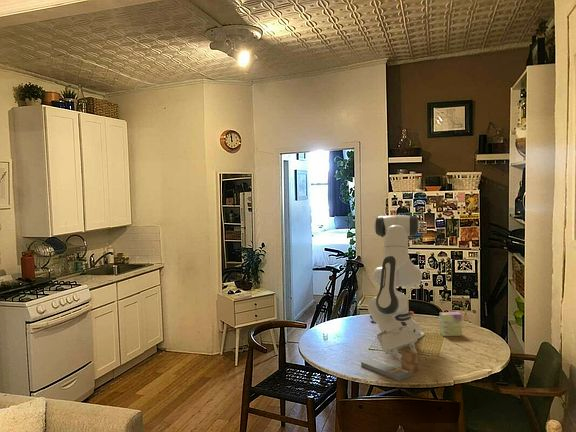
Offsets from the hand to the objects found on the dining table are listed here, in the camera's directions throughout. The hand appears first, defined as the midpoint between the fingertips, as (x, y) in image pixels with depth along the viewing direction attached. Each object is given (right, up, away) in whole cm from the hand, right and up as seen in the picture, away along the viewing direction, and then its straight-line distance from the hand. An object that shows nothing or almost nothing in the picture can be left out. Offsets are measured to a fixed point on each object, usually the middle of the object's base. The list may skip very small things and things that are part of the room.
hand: (408, 355), depth 205 cm
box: (+35, -3, +47) cm, 59 cm away
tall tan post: (0, -6, 0) cm, 6 cm away
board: (-10, -6, -1) cm, 12 cm away
